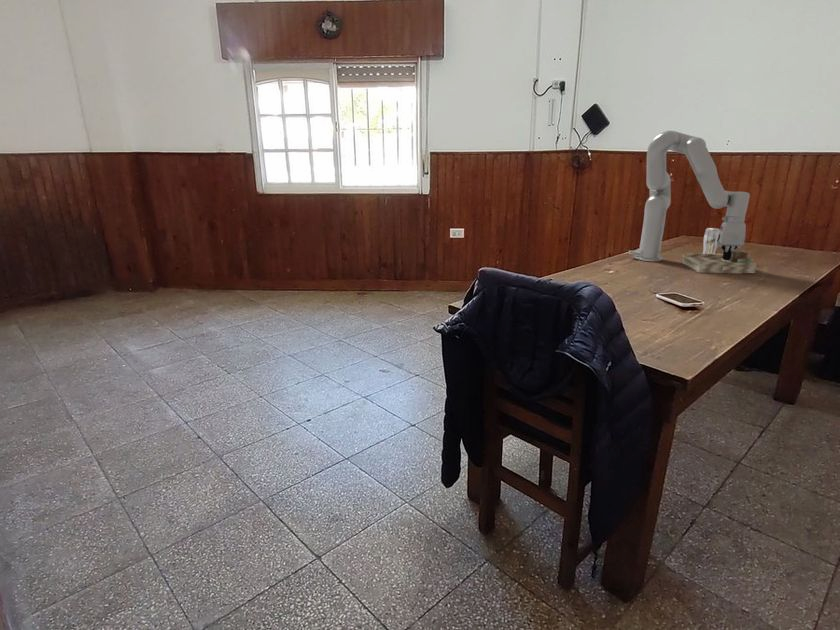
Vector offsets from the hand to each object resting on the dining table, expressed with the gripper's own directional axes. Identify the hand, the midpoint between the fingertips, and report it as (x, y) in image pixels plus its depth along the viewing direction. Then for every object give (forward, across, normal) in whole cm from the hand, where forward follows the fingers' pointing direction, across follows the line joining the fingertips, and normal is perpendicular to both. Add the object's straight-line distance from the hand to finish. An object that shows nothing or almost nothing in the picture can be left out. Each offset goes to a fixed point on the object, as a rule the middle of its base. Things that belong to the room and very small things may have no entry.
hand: (726, 259), depth 232 cm
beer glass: (+4, +1, +19) cm, 20 cm away
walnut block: (+1, +5, 0) cm, 5 cm away
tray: (+4, -3, 0) cm, 5 cm away
